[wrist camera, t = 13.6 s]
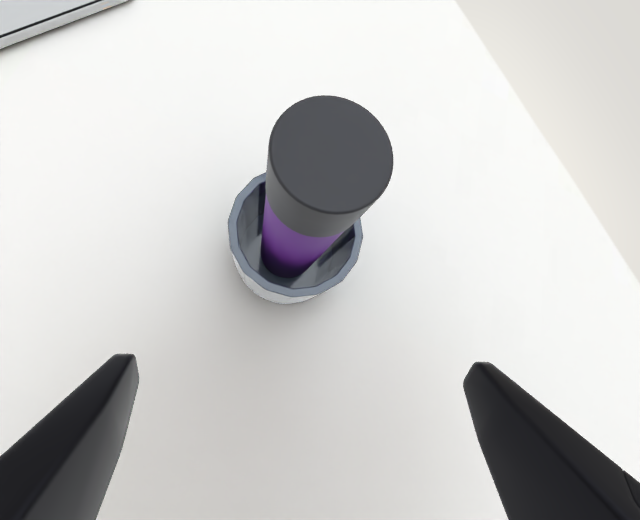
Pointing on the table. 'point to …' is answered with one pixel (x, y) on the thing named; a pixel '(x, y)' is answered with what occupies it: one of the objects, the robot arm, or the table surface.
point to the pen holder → (254, 273)
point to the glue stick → (320, 179)
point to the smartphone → (43, 16)
